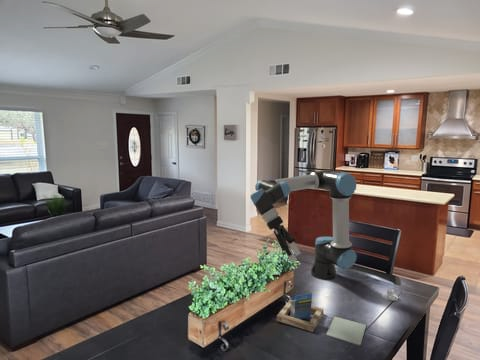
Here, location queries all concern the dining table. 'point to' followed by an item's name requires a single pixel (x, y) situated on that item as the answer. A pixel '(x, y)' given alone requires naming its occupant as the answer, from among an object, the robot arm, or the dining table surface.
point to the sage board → (346, 330)
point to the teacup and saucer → (390, 295)
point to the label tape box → (301, 306)
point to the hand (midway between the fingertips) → (296, 258)
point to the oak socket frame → (299, 323)
